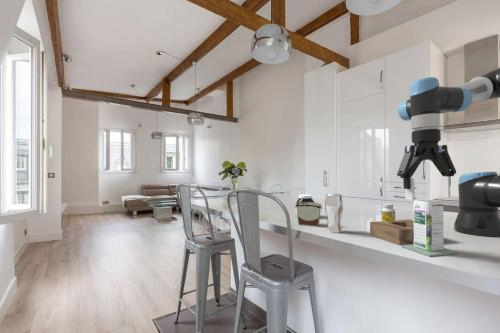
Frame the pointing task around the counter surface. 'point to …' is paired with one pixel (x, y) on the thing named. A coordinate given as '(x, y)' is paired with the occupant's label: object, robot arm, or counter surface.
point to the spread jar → (304, 199)
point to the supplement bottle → (388, 212)
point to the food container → (308, 213)
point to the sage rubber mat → (429, 253)
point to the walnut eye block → (394, 231)
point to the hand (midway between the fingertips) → (428, 198)
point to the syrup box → (428, 225)
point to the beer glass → (334, 212)
